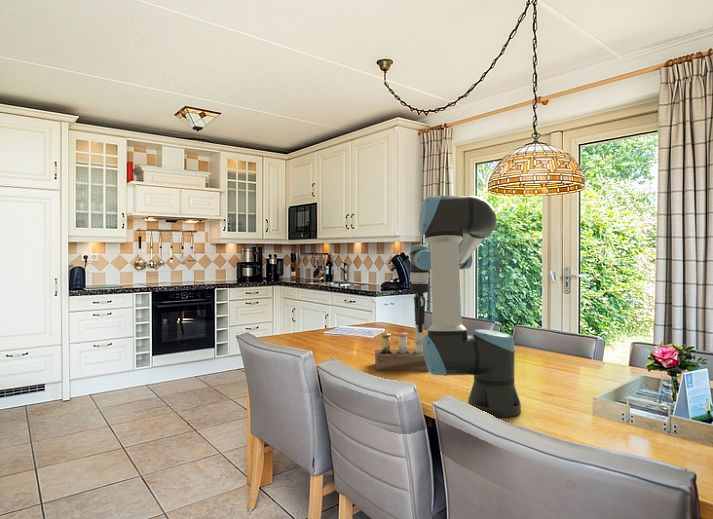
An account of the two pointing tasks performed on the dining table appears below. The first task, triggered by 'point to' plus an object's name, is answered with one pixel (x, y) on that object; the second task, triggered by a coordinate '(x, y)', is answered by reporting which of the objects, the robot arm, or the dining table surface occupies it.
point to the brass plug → (385, 343)
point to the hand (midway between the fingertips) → (419, 339)
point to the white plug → (402, 343)
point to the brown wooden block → (400, 361)
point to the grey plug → (419, 346)
